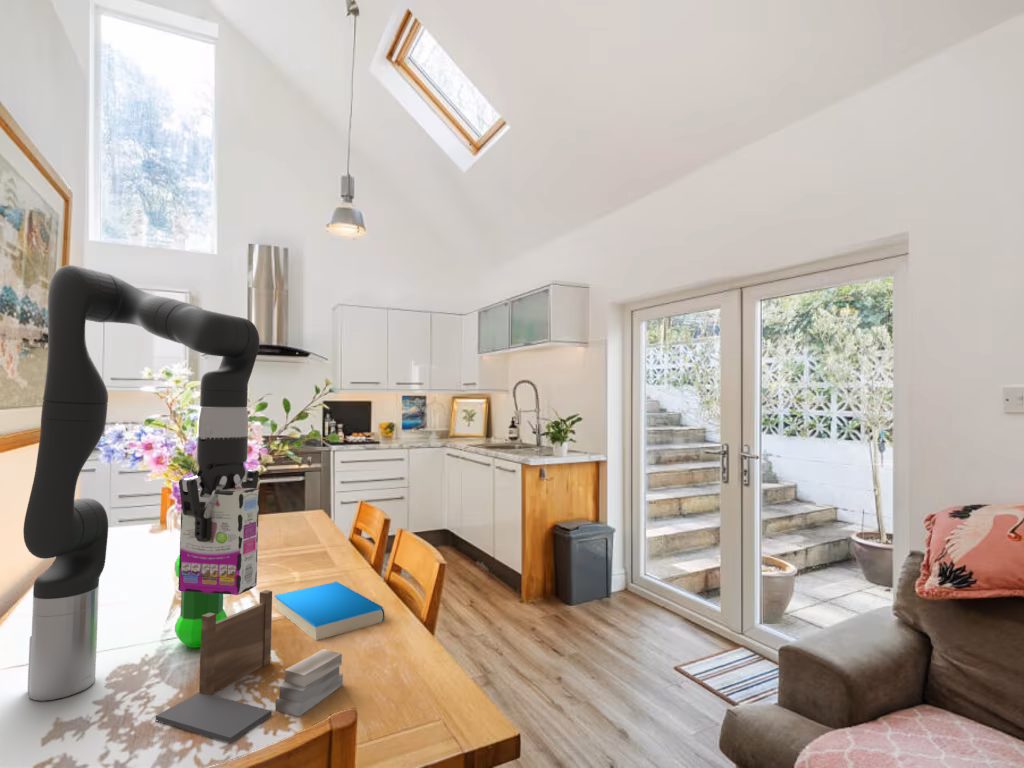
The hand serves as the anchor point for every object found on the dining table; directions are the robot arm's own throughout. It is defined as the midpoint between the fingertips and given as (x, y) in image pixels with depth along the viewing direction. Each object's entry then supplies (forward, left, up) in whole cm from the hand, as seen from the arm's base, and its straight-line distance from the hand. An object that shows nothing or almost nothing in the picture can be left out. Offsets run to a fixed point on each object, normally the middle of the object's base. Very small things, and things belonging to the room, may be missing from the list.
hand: (219, 536), depth 91 cm
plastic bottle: (-27, +20, -29) cm, 45 cm away
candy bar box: (0, 0, -9) cm, 9 cm away
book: (-12, +43, -30) cm, 54 cm away
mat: (0, 0, -29) cm, 29 cm away
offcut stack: (+10, +11, -29) cm, 33 cm away
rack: (-7, +11, -29) cm, 32 cm away
